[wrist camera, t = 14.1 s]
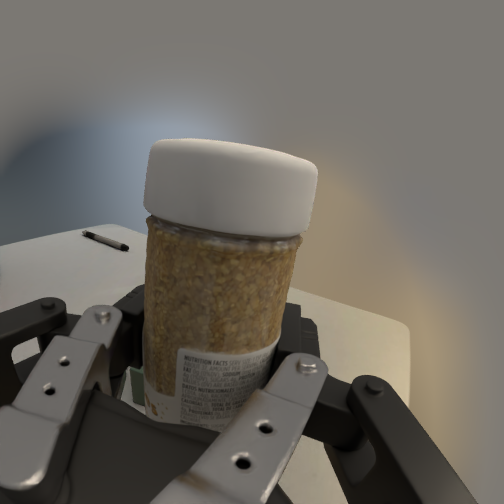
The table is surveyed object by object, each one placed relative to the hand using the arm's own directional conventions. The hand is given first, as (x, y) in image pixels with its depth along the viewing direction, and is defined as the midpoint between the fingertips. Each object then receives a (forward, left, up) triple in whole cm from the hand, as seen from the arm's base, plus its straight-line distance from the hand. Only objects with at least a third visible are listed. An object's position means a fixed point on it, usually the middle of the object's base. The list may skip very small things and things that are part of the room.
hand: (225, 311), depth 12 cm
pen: (+36, -42, -14) cm, 57 cm away
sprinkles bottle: (0, +3, -7) cm, 8 cm away
